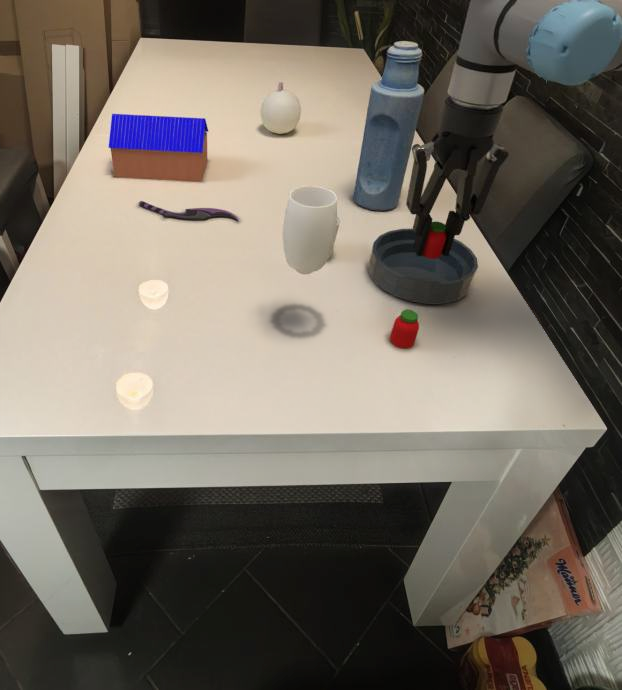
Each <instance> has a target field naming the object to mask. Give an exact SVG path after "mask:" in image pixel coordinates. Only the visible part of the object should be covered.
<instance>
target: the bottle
mask: <svg viewBox="0 0 622 690" xmlns="http://www.w3.org/2000/svg"><path fill="white" fill-rule="evenodd" d="M422 57H423V51H422V49H421V48H419V44H418V43H417V42H414V41H407V40H401V41H400V40H399V41H395V42H394V43H393V45H392V46H389V48H388V49H387V51H386V62H385V66H384V69H383V73H382V77H381V79H380V80H376V81H374V82H373V83H372V84H371V88H370V93H369V98H368V106H367V108H366V109H367V111H366V117H365V122H364V130H363V135H362V142H361V148H360V154H359V159H358V165H357V173H356V178H355V183H354V184H355V185H354V189H353V195H352V199H353V202H354V203H356V204H357V205H358V206H359V207H362V208H364V209H366V210H369V211H377V212H384V211H390V210H393V209H395V208H396V207H397V206H398V205H399V202H400V197H401V194H402V189H403V185H404V180H405V175H406V172H407V168H408V164H409V160H410V155H411V151H412V147H413V142H414V139H415V138H414V137H415V133H416V130H417V126H418V123H419V122H418V121H419V117H420V112H421V107H422V104H423V99H424V96H425V88H424V87H423V86H422V85H421V84H419V83H418V81H419V72H420V71H419V67H420V64H421V60H422Z"/></svg>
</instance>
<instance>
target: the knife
mask: <svg viewBox="0 0 622 690" xmlns="http://www.w3.org/2000/svg"><path fill="white" fill-rule="evenodd" d="M138 205H139V206H141V207H142V208H145V209H148V210H151V211H153V212H156V213H158V214H162V216H163V218H169V217H170V218H176V219H181V220H193V221H194V220H197V221H205V220H207V219H209V218H214V217H215V218H216V217H225V218H231V219H233V220H235V221H237V222H239V218H238V216H236V214H234V213H232V212H230V211H228V210H225V209H221V208H214V207H195V208H185V211H183V212H175V211H170V210H166V209H164V208H161V207H158V206H156V205H153V204H150V203H148V202H146V201H143V200H139V202H138Z"/></svg>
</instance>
